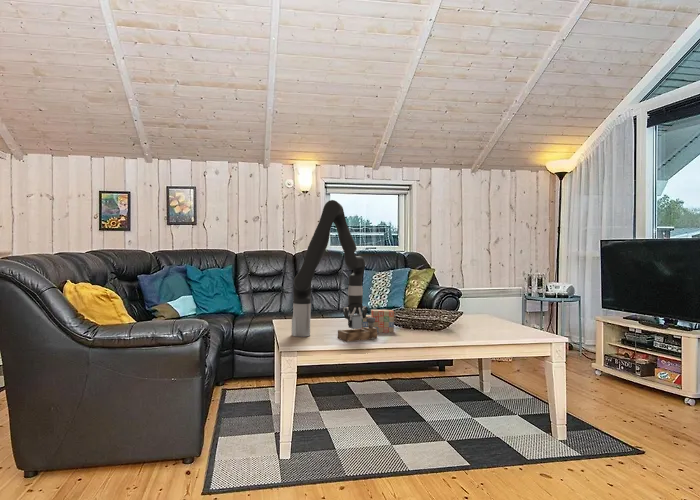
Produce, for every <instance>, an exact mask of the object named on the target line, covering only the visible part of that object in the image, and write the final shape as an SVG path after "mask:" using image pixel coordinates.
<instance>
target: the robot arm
mask: <svg viewBox="0 0 700 500" xmlns="http://www.w3.org/2000/svg"><path fill="white" fill-rule="evenodd" d="M346 219H347V218H346V215H345V212H344V208H343V206H342V204H340V202H339V201H337V200H335V199H330V200H328V201H327V202H325V204H324V206H323V209H322V211H321V216H320V218H319V221H318V223H317V226H316V228H315V230H314V233H313V235H312V237H311V240H310V241H309V244H308V246H307V249H306V251H305V255H304V259H303V263H302V265H301V267H300V269H299V271H298V273H297V274H296V275H295V277H294V279H293V294H292V295H293V296H292V297H293V299H292V300H293V301H292V302H293V303H292V304H293V307H292V310H293V311H292V315H293V316H291V336H293V337H295V338H296V337H298V338H301V337H302V338H303V337H310V336H311V311H312V310H311V306H312V305H311V304H312V303H311V302H312V299H311V298H312V296H311V295H312V294H311V291H312V289H311V288H312V287H311V286H312V281H313V278H314V275H315V273H316V270H317V267H318V265H319V264H320V262H321V261H322V258H323V256H324V255H325V252H326V250H327V248H328V245H329V241H330V237H331V235H330V234H331V228H332V226H333V224H334V226H335V228H336V232H337V236H338V239H339V242H340V245H341V248H342V251H343V254H344V261H345V265H346V267H347V268H348V269H350V270H352V273H351V274H349V277H348V291H347V292H348V293H347V294H348V295H347V302H348V303H347V304H348V305H347V307H343V308H342V312H343V316H344V319H345V320H347V325H348V328H349V327H352V317H353V316H354V315H355V314H357V315H359V316H360V317H362V319H363V318H366V315H367V313H368V306H364V305H363V301H364V300H363V299H364V298H363V297H364V295H363V293H364V292H363V277H364V272H365V267H366V262H365V259H364V257H363V256H361V255H356V254H355V252H356V251H357V245H356V243H355V241H354V239H353V236H352V233H351V231H350V229H349V226H348V223H347V220H346Z"/></svg>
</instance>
